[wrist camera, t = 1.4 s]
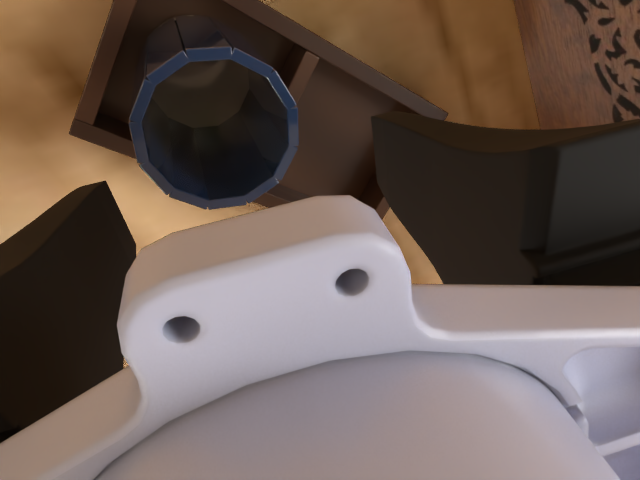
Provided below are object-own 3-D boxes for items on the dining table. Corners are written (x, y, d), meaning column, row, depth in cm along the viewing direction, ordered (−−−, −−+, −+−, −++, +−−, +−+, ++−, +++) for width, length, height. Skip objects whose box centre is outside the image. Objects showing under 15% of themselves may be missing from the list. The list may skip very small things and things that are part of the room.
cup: (121, 103, 20) (106, 176, 14) (163, -11, 19) (168, 12, 12) (227, 147, 23) (257, 227, 16) (272, 49, 21) (326, 95, 14)
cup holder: (351, 222, 28) (367, 244, 25) (76, 116, 20) (68, 134, 18) (425, 100, 25) (449, 113, 23) (139, -70, 18) (137, -73, 16)
